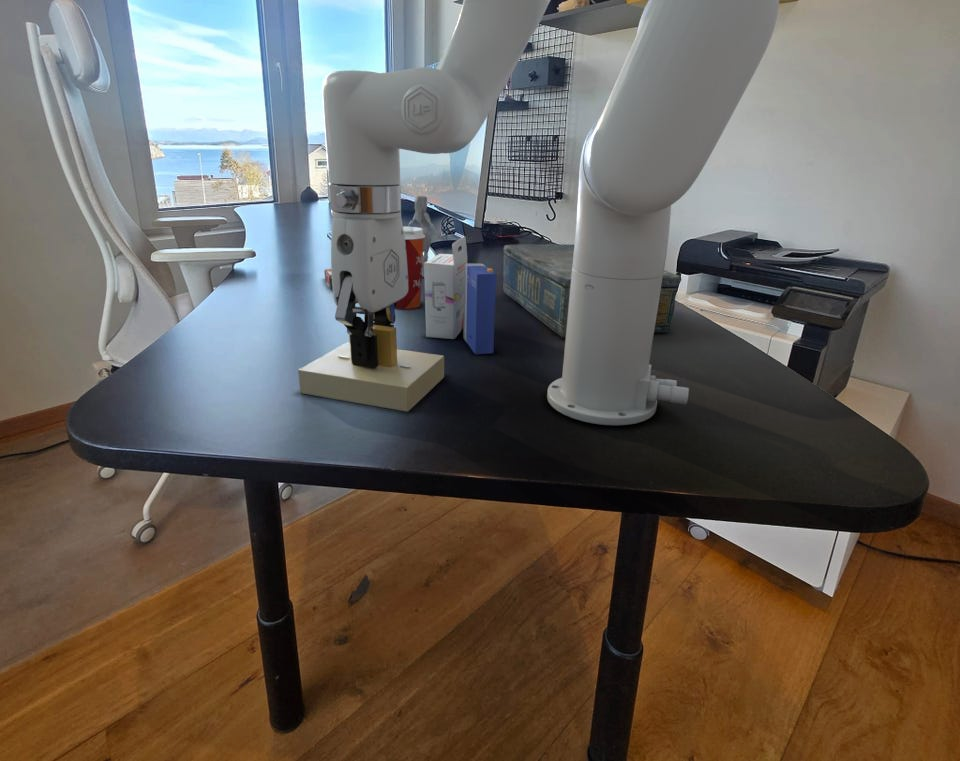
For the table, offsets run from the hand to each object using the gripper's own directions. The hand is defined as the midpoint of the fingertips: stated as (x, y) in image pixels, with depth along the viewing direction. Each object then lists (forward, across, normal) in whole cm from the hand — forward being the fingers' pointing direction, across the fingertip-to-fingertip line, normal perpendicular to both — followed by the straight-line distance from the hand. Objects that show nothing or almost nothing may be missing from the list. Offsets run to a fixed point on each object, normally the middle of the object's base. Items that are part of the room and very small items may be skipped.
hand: (374, 358), depth 66 cm
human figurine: (+4, +60, +20) cm, 63 cm away
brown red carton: (+4, +47, +33) cm, 58 cm away
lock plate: (+3, 0, 0) cm, 3 cm away
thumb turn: (0, 0, 0) cm, 0 cm away
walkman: (+4, +19, -7) cm, 21 cm away
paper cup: (+4, +36, +13) cm, 38 cm away
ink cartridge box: (+4, +24, 0) cm, 24 cm away
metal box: (+4, +45, -18) cm, 49 cm away
